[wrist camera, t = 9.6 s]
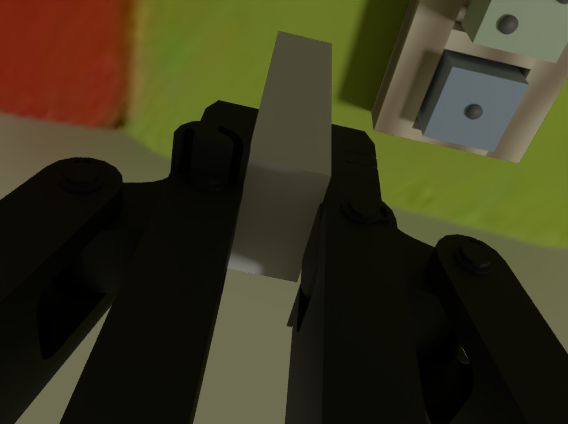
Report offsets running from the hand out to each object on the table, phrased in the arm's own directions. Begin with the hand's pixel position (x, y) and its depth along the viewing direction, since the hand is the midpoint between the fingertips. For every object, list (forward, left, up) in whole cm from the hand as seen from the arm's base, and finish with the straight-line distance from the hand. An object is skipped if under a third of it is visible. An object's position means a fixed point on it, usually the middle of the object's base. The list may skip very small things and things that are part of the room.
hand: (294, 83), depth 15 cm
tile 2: (+15, -1, -26) cm, 30 cm away
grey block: (+15, -9, -28) cm, 33 cm away
